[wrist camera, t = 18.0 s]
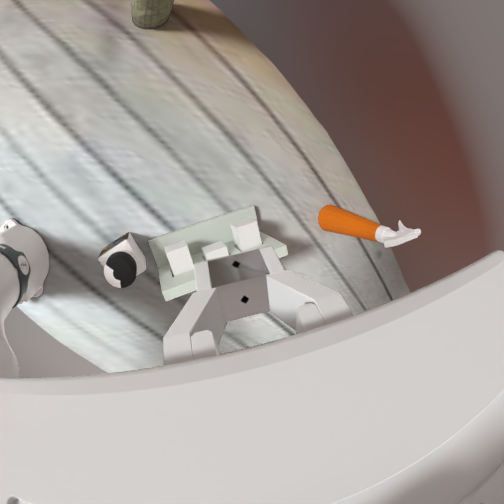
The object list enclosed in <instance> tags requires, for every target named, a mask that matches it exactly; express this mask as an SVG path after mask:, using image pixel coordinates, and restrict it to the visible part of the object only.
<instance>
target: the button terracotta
mask: <svg viewBox="0 0 504 504" xmlns="http://www.w3.org/2000/svg"><path fill="white" fill-rule="evenodd" d="M230 226H231V229H232V233H233V237H234V241H235V244H236V248H237V249H238V250H240V251H241V252H243V251H245V250H248V249H251V248H254V247H256V246H259V245H262V242H261V238H260V233H259V229H258V225H257V221H255V220H253V219H251V218H247V219H243V220H240V221H237V222H234V223H232V224H230Z"/></svg>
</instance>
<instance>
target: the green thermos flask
mask: <svg viewBox="0 0 504 504" xmlns="http://www.w3.org/2000/svg"><path fill="white" fill-rule="evenodd" d="M173 2H174V0H132V3H131V13H132V20H133V23H134V24H135V25H136V26H137V27H139V28H142V29H153V28H157V27H159V26H162V25H163V24H164V23H166V21H167V20H168V19H169V15H170V13H171V10H172V6H173Z"/></svg>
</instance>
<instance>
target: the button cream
mask: <svg viewBox="0 0 504 504" xmlns="http://www.w3.org/2000/svg"><path fill="white" fill-rule="evenodd" d="M202 251H203V255H204V258H205V261H206V260H207V261H208V260H210V259H215V258H219V257H224V256H229V253H228V250H227V246H226V245H225V244H224V243H223V242H221V241H219V242H216V243H213V244H210V245H208V246H205V247H202Z"/></svg>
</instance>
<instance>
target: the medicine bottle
mask: <svg viewBox="0 0 504 504" xmlns="http://www.w3.org/2000/svg"><path fill="white" fill-rule="evenodd" d="M98 260H99V262H100V263H101V265H102V266H103V268H104V275H105V278H106V280H107V281H108V282H109V283H110V284H111V285H112V286H114V287H117V288H125V287H128V286H130V285H131V284H132V283H133V282H134V280H135V278H136V276H137V275H139V274H140V273H142V272H144V271H145V270H146V258H145V256H144V255H143V253H142V251H141V250H140V248H139V247H138V245H137V244H136V242H135V240H134V239H133V237H132V235H131V234H130V233H129V232H128V233H126V234H125V235H123V236H121V237H120V238H118V239H117V240H115V241H114V242H112V243H111V244H109V245H108V246H107V247H105V248H104V249H103V250H102V252H101V254H100V256H99V258H98Z"/></svg>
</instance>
